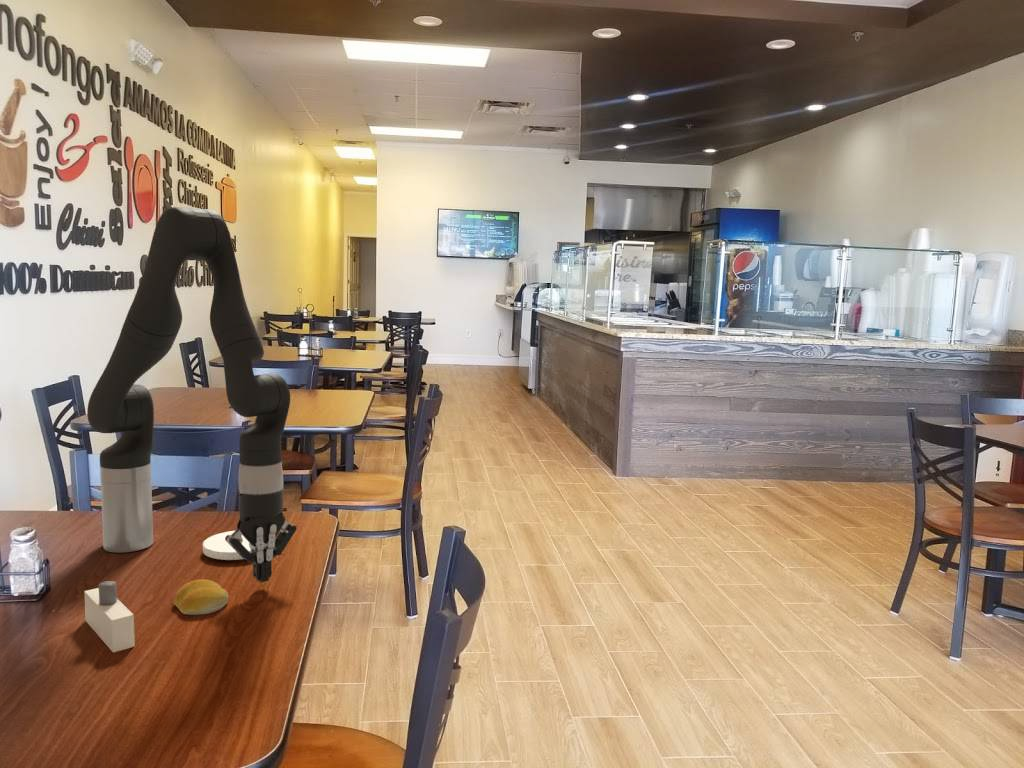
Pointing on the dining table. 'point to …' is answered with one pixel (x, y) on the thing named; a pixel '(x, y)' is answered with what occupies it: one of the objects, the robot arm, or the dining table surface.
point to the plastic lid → (222, 547)
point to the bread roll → (200, 597)
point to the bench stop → (109, 617)
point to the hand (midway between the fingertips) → (262, 580)
